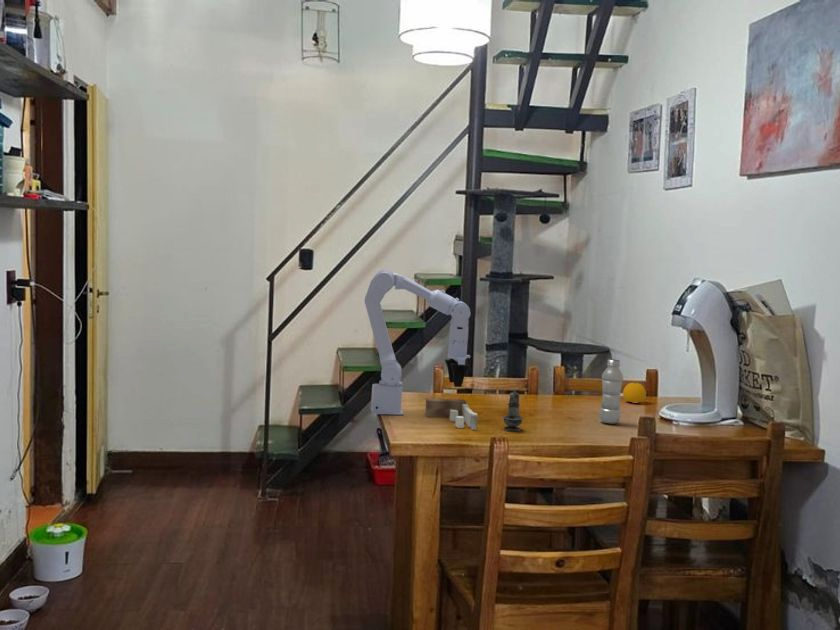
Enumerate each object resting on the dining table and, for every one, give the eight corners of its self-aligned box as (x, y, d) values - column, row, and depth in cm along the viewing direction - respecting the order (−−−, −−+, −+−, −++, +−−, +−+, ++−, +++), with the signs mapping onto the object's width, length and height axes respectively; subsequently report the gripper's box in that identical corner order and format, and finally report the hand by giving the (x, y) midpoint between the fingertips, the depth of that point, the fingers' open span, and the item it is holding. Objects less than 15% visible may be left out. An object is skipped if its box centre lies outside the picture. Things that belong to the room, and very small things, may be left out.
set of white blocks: (457, 429, 233) (458, 414, 233) (448, 418, 248) (449, 403, 248) (476, 429, 234) (477, 414, 234) (466, 418, 249) (467, 404, 249)
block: (426, 416, 248) (427, 400, 248) (425, 414, 252) (426, 398, 251) (465, 417, 250) (466, 401, 250) (463, 415, 254) (464, 399, 253)
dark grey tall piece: (519, 427, 241) (521, 387, 240) (524, 432, 235) (527, 391, 234) (499, 427, 240) (502, 386, 239) (505, 431, 234) (507, 390, 233)
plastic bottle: (609, 426, 249) (614, 361, 247) (593, 421, 254) (598, 358, 253) (624, 425, 252) (629, 361, 250) (608, 420, 258) (613, 358, 256)
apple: (629, 405, 286) (630, 384, 286) (618, 400, 294) (620, 380, 293) (649, 405, 288) (651, 384, 288) (638, 400, 296) (640, 380, 295)
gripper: (476, 344, 244) (472, 389, 245) (466, 338, 258) (463, 380, 259) (453, 343, 243) (450, 388, 244) (444, 337, 257) (441, 379, 258)
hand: (455, 384), depth 252 cm, fingers open, 7 cm apart
